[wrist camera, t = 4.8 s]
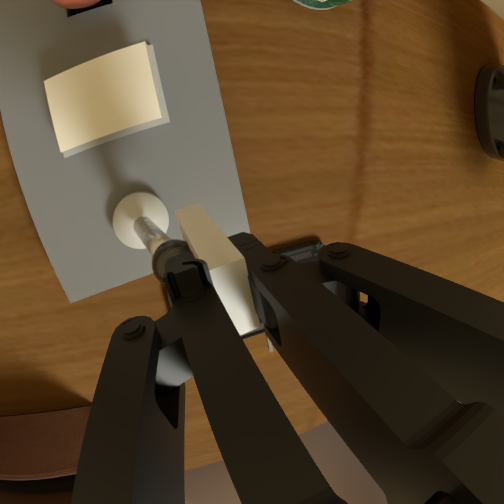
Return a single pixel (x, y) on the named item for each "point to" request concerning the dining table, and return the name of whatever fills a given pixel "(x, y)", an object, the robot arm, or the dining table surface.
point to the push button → (75, 3)
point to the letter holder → (40, 456)
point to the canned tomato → (320, 3)
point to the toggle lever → (158, 244)
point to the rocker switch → (103, 96)
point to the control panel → (116, 137)
